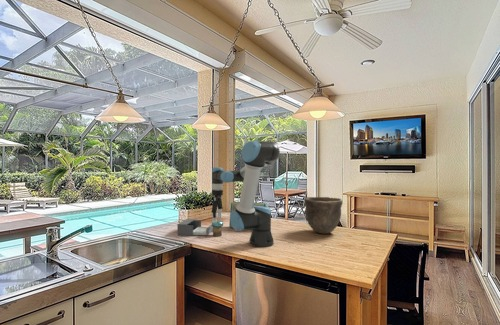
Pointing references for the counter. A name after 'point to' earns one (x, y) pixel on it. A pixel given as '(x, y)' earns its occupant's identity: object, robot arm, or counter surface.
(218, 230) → the post
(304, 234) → the counter surface
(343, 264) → the counter surface
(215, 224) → the disc
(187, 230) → the box
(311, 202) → the clay pot
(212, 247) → the counter surface
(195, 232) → the tray
